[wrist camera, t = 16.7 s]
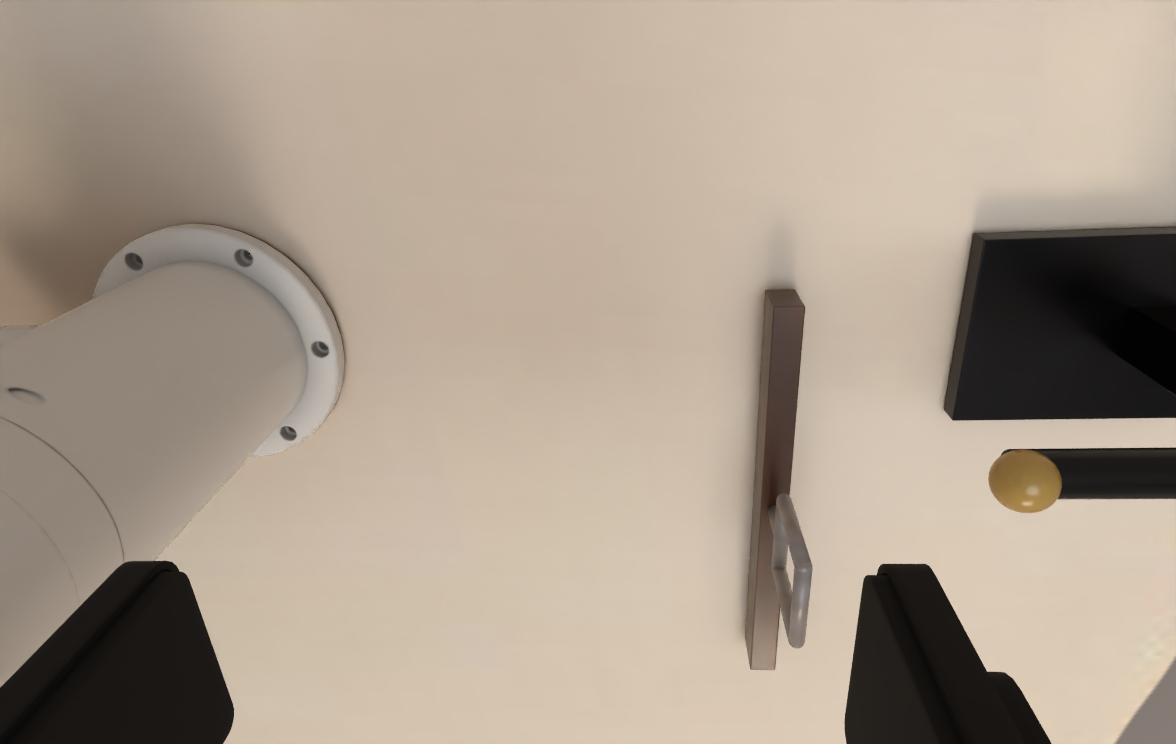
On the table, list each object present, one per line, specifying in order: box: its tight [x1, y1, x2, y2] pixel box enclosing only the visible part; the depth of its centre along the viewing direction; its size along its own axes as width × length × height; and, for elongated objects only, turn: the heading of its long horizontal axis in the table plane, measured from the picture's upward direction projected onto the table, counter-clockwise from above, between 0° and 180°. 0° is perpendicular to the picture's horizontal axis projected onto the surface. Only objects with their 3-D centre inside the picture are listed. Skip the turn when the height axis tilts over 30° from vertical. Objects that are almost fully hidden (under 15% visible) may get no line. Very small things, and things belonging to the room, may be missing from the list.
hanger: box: [745, 290, 812, 670], centre depth 35 cm, size 1×22×9 cm, turn 3°
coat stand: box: [944, 227, 1176, 513], centre depth 28 cm, size 15×9×16 cm, turn 93°
